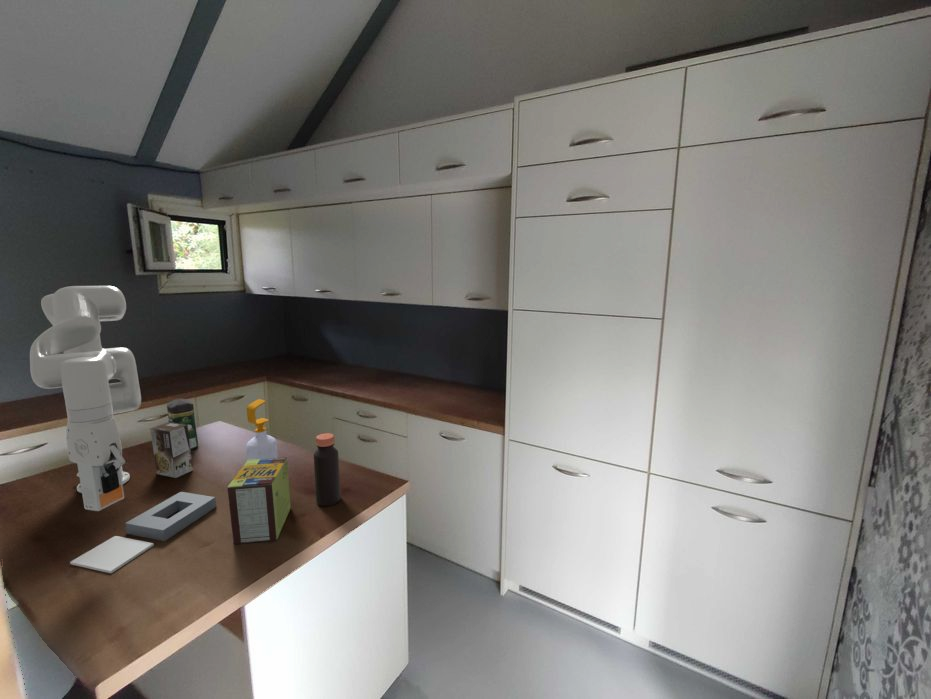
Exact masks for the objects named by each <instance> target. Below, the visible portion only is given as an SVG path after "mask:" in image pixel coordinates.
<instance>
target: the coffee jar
mask: <svg viewBox="0 0 931 699" xmlns="http://www.w3.org/2000/svg"><path fill="white" fill-rule="evenodd" d="M194 406H195V405H194V403H193V402H192V401H191V400H190V399H189V400H188V399H187V398H186V399H185V398H176V399H171V400H170V401H169V402H168V403H167V404H166V409H167V410H166V411H167V420H168V422H171V423H178V424H185V425H188V434H189V442H190V450H193V449H195V448H198V445H199V441H198V432H197V426H196V425H197V424H196V418H195V416H196V415H195V407H194Z"/></svg>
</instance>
